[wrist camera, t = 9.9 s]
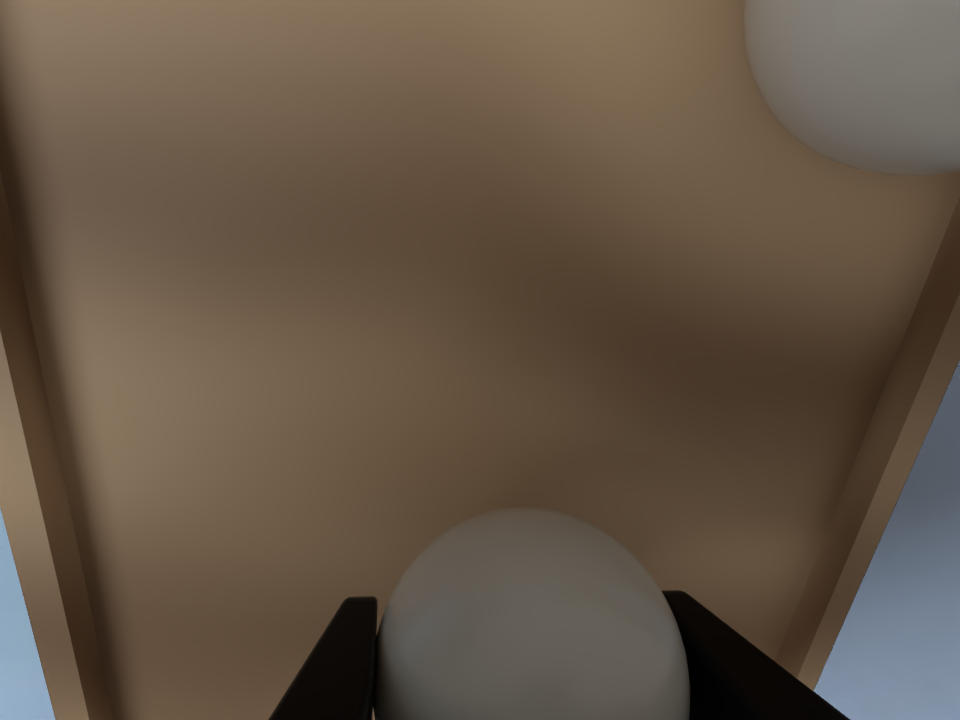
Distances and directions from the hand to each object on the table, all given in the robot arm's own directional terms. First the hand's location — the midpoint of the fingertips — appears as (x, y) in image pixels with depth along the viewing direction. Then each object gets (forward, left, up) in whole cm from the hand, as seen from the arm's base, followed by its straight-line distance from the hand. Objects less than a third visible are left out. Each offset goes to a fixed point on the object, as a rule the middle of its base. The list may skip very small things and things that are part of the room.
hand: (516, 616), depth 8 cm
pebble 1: (0, 0, -1) cm, 1 cm away
